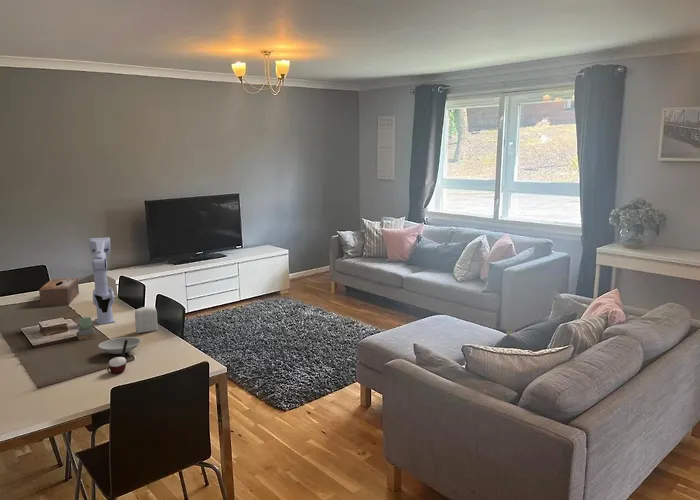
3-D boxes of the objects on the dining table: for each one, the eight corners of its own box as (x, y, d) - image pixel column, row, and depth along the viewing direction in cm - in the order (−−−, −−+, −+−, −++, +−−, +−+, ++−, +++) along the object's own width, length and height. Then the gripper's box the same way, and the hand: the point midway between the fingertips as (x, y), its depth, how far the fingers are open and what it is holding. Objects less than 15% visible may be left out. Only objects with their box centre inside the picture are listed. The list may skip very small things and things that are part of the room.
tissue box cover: (68, 305, 306) (67, 288, 304) (40, 306, 302) (39, 289, 300) (79, 293, 330) (77, 277, 328) (53, 295, 326) (51, 279, 325)
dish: (99, 363, 224) (99, 351, 223) (97, 351, 236) (97, 340, 235) (144, 355, 232) (143, 344, 231) (140, 345, 244) (139, 334, 243)
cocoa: (108, 378, 210) (105, 349, 207) (105, 372, 215) (101, 344, 212) (133, 371, 216) (130, 343, 213) (129, 365, 221) (126, 338, 218)
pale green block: (79, 327, 254) (77, 318, 253) (90, 325, 257) (89, 316, 256) (81, 330, 250) (80, 321, 249) (93, 327, 253) (92, 318, 252)
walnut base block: (76, 337, 255) (76, 332, 255) (92, 334, 259) (92, 329, 258) (79, 341, 249) (78, 336, 249) (95, 338, 253) (94, 333, 253)
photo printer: (156, 328, 268) (155, 304, 265) (158, 330, 264) (157, 306, 262) (134, 331, 262) (133, 307, 260) (136, 334, 258) (135, 309, 256)
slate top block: (78, 332, 255) (78, 327, 254) (92, 330, 258) (91, 325, 257) (79, 335, 250) (78, 330, 249) (93, 333, 253) (93, 328, 252)
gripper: (89, 281, 262) (91, 308, 265) (94, 287, 251) (97, 315, 253) (104, 279, 266) (107, 305, 269) (110, 285, 254) (113, 313, 257)
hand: (103, 310), depth 261 cm, fingers open, 7 cm apart
